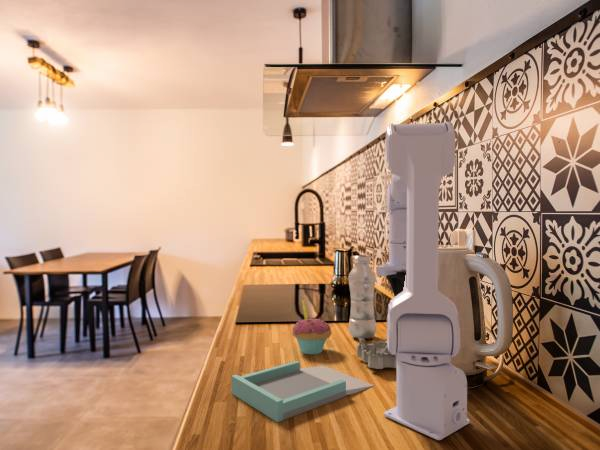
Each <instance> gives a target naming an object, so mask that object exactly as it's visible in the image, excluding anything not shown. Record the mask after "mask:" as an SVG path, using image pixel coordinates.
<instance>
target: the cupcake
mask: <svg viewBox="0 0 600 450" xmlns="http://www.w3.org/2000/svg"><path fill="white" fill-rule="evenodd" d="M301 299H302V300H301V304H302V308H303V309H302V310H303V315H304V316H303V317H304V319H300V320H298V321H296V323H295V324H294V325H293V326H292V331H291V332H292V333H291V335H292V336H293V337H294V338H295V339H296V341H297V344H298V347H299V349H300V352H301V353H302V354H304V355H318V354H321V353H322V352H323V350H324V347H325V343H326V341H327V339H329V338H330V337H331V335H332V330H331V327H330V325H329V324H328V323H327V321H326V322H325V320H322V319H321V318H320V319H319V318H313V317H311V318H309V317H308V312H307V304H306V300H304V297H301Z"/></svg>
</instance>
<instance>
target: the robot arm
mask: <svg viewBox="0 0 600 450" xmlns="http://www.w3.org/2000/svg"><path fill="white" fill-rule="evenodd" d="M384 148H385V162H386V163H387V168H388V169H389V171H390V174H392V176H391V178H392V179H391V184H389V185H388V186H387V190H386V210H387V213H389V214H388V261H387V262H385V263H384V264H381V265H376V276H380V277H386V280H387V281H388V283H389V285H390V286H391V289H392V292H393V295H394V297H392V298H391V299H390V301H389V303H388V304H387V307H388V308H387V315H386V341H387V346H388V351H389V352H391V354H392V355H396V358H397V362H396V368H395V369H396V373H395V375H396V384H395V385H396V387H395V389H396V390H395V391H396V398H395V399H396V401H395V403H396V406H394V407H392V408H390V409H388V410H385V411H384V412H383V416H384V417H386V418H388V419H391V420H393V421H394V422H397V423H399V424H401V425H403V426H406V427H408V428H410V429H412V430H415V431H416V432H419V433H421V434H423V435H425V436H428V437H430V438H431V439H435V440H436V441H441V440H443V439H444V438H446V437H448V436H450V435H452V434H454V433H455V432H456V431H459V430H460V429H462V428H463V427H465V426H467V425H468V424H470V423H471V420H470V419H469V418H468V380H467V376H466V374H465V372H464V370H463V369H461V368H459V367H457V366H455V365H453V364H452V363H451V362H452V358H455V357H456V356H457V354H459V352H460V350H461V327H460V322H459V311H458V308H457V307H456V304H455V302H453V301H452V300H451V299H450V298H449V297H447V296H446V295H444V294H443V293H442V292H440V291H439V287H438V285H439V230H440V229H439V226H440V225H439V224H440V222H439V220H440V219H439V218H440V216H439V215H440V213H439V211H440V208H439V207H440V188H441V184H442V179H443V177H445V176H447V175H451V174H452V173H453V172H454V168H455V164H456V133H455V129H454V125H453V124H452V123H451V122H450V121H444V122H435V123H434V122H433V123H432V122H430V123H400V124H398V123H397V124H396V123H395V124H394V123H389V125H388V126H387V127H386V129H385V147H384ZM405 275H406V289H405V290H404V291H403V287H404V281H405Z"/></svg>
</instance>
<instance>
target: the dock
mask: <svg viewBox="0 0 600 450" xmlns="http://www.w3.org/2000/svg"><path fill="white" fill-rule="evenodd" d="M230 377H231V378H230V379H231V386H230V387H231V389H230V390H231V391H230V392H231V395H233V396H234V397H236V398H238V399H239V400H241V401H243V402H244V403H246V404H247V405H249V406H250V407H252V408H254V409H256V411H258V412H260V413H262V414H263V415H264V416H266V417H268V418H269V419H271V420H273V421H274V422H276V423H280V422H282V421H285V420H287V419H291V418H292V417H296V416H298V415H301V414H304V413H305V412H308V411H311V410H314V409H316V408H319V407H321V406H325V405H327V404H329V403H333V402H335V401H337V400H340V399H342V398H345V397H347V396H348V395H354V394H357V393H359V392H361V391H365V390H367V389H370V388H372V387H374V386H375V385H374V384H372V383H370V382H366V381H365V380H362V379H359V378H356V377H354V376H352V375H350V374H346V373H344V372H341V371H339V370H336V369H334V368H331V367H329V366H326V365H319V366H318V365H317V366H309V367H307V366H306V367H301V362H300V361H298V360H294V361H290V362H288V363H283V364H279V365H277V366H273V367H269V368H266V369H261V370H258V371H255V372H251V373H247V374H244V375H238V374H233V375H231V376H230Z"/></svg>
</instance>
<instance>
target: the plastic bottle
mask: <svg viewBox="0 0 600 450" xmlns="http://www.w3.org/2000/svg"><path fill="white" fill-rule="evenodd" d="M353 264H354V266H353V267H352V269H351V270H350V272H349V273H348V279H347V280H348V286H349V287H348V288H349V292H350V293H349V294H350V313H349V314H350V315H349V322H348V331H349V334H350V336H351V337H352V338H356V336H357V335H358V336H359V338H362V339H365V340H366V339H371V338H374V337H375V335H376V333H377V322H376V318H375V310H374V309H375V308H374V302H375V301H374V297H375V286H376V275H375V273H374V271H373V270H372V267H370V264H371V256H370V255H366V254H357V255H354V257H353ZM356 339H357V338H356Z"/></svg>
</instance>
